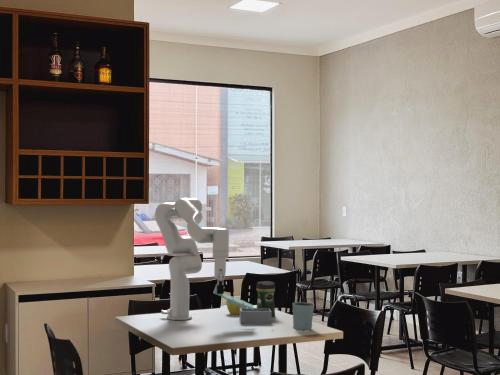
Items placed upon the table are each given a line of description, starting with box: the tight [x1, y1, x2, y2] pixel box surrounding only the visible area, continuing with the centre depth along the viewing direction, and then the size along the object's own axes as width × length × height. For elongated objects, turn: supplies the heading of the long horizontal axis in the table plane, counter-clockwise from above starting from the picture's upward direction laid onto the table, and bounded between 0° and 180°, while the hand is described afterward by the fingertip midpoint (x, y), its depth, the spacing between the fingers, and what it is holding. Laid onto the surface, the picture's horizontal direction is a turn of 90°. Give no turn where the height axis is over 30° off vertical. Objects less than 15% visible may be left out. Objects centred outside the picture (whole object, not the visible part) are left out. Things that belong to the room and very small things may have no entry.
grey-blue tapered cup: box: [292, 301, 315, 332], centre depth 330 cm, size 10×10×12 cm
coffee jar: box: [255, 280, 276, 318], centre depth 360 cm, size 10×8×19 cm
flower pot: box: [225, 300, 246, 316], centre depth 366 cm, size 10×10×7 cm
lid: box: [213, 283, 255, 310], centre depth 330 cm, size 20×11×5 cm, turn 94°
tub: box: [239, 307, 273, 325], centre depth 343 cm, size 15×10×6 cm, turn 94°
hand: (220, 292), depth 329 cm, fingers closed on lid, 2 cm apart
